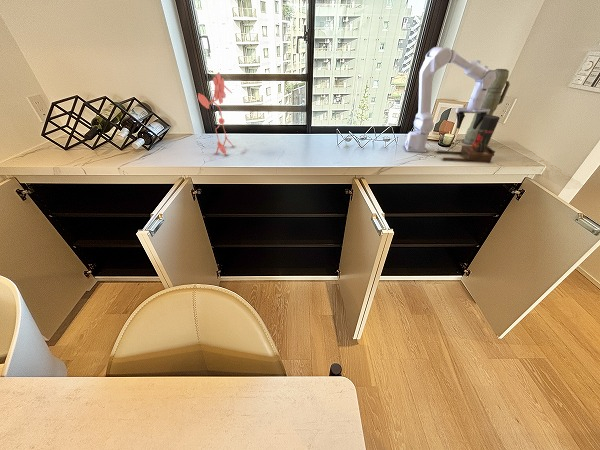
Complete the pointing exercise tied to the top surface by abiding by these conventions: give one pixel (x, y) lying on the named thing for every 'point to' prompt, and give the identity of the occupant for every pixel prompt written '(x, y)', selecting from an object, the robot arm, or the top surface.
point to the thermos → (490, 101)
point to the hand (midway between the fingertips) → (465, 128)
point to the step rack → (471, 154)
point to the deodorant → (485, 133)
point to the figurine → (218, 95)
